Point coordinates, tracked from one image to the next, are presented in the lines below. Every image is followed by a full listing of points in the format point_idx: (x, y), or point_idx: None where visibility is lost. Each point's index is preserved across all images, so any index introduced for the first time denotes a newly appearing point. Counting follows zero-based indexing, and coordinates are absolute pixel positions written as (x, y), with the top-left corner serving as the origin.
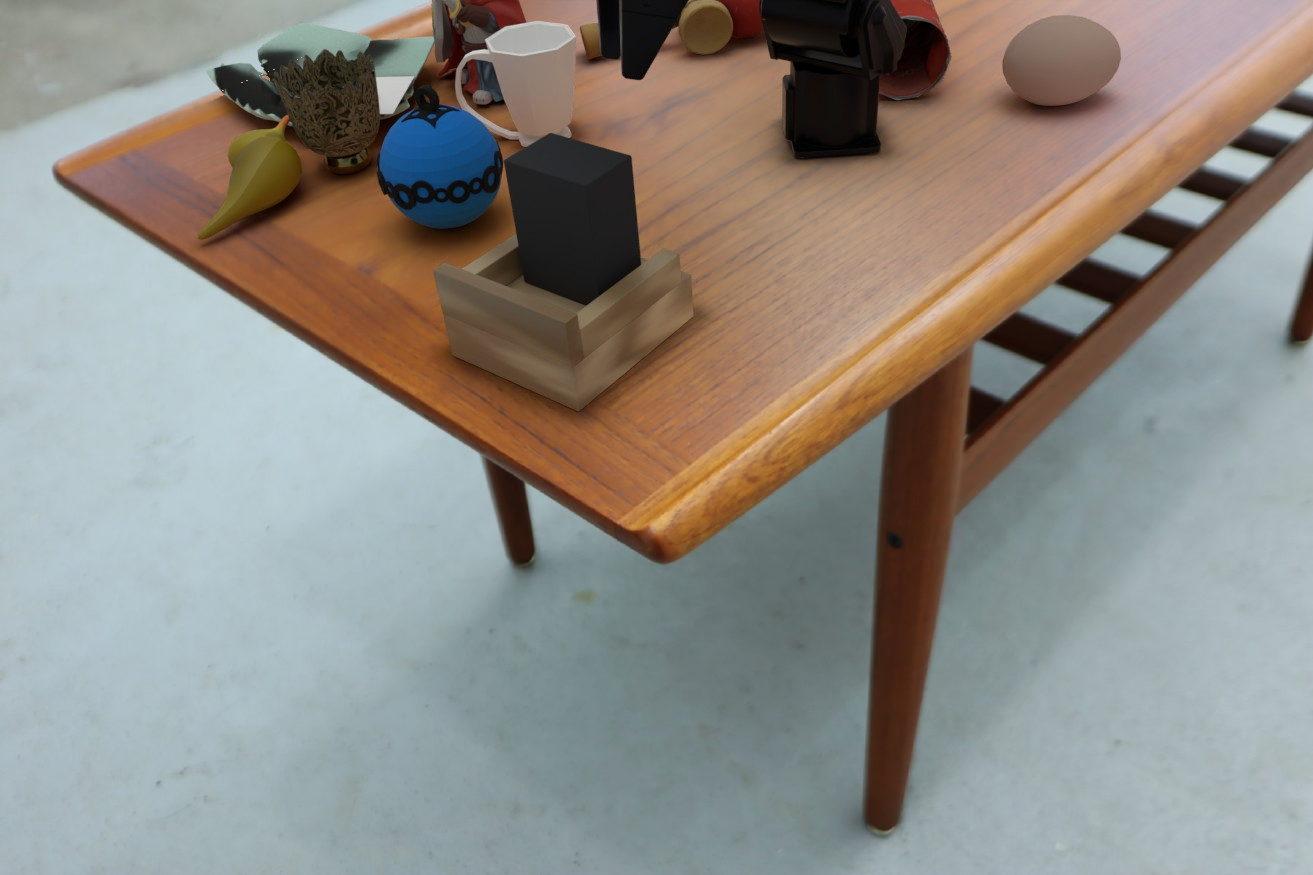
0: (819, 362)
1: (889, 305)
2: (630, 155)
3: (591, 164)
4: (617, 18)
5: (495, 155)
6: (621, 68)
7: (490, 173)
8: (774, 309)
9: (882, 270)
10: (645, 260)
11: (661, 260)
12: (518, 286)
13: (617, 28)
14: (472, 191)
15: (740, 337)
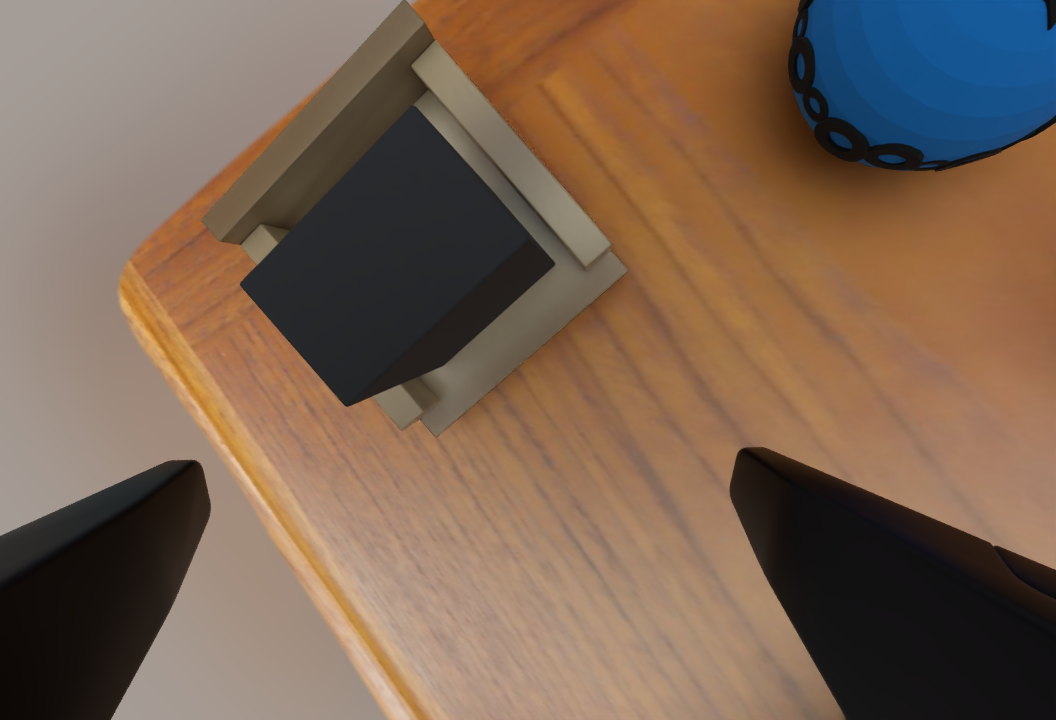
0: (326, 534)
1: (413, 652)
2: (346, 405)
3: (328, 312)
4: (819, 570)
5: (895, 146)
6: (177, 467)
7: (844, 136)
8: (443, 522)
9: (490, 677)
10: (494, 381)
11: (388, 399)
12: (477, 173)
13: (786, 547)
14: (803, 98)
15: (396, 463)
